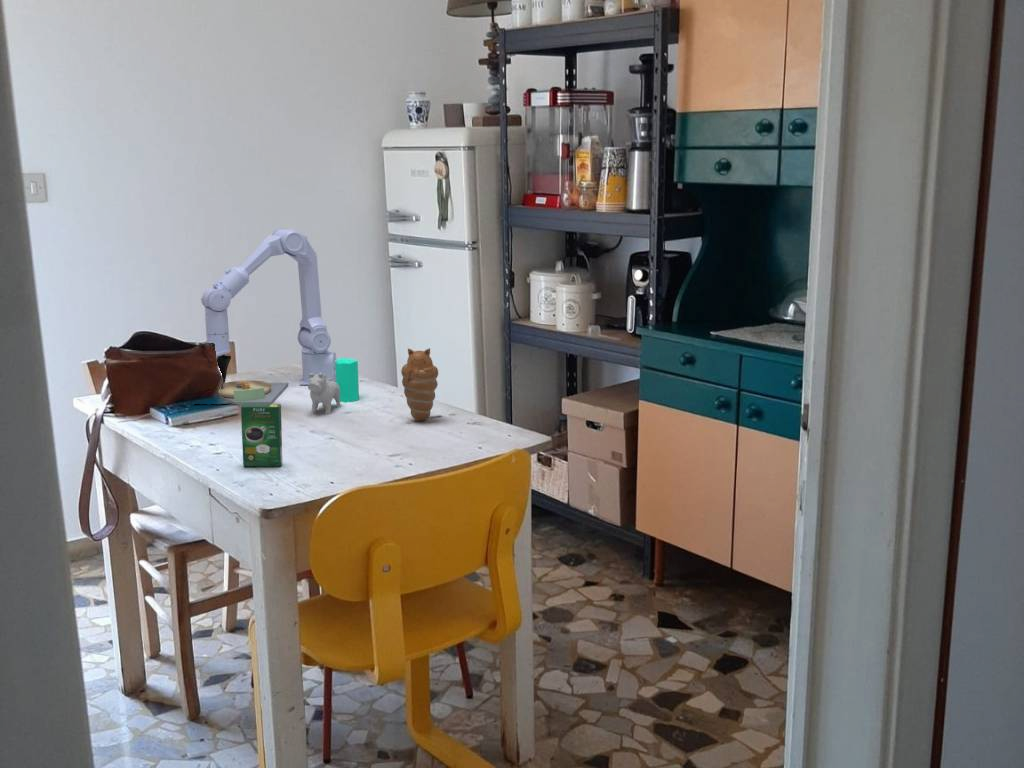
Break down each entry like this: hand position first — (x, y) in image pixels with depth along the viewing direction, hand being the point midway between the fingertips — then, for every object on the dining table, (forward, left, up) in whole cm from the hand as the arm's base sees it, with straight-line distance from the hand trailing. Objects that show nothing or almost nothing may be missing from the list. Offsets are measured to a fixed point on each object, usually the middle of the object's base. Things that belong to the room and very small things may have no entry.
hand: (220, 383), depth 264 cm
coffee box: (-26, +62, -4) cm, 67 cm away
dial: (-6, 0, -2) cm, 6 cm away
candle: (-35, +5, -3) cm, 35 cm away
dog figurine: (-31, +17, -4) cm, 35 cm away
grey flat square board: (-6, 0, -3) cm, 7 cm away
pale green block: (-10, +8, -2) cm, 13 cm away
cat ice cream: (-56, +27, -3) cm, 62 cm away
